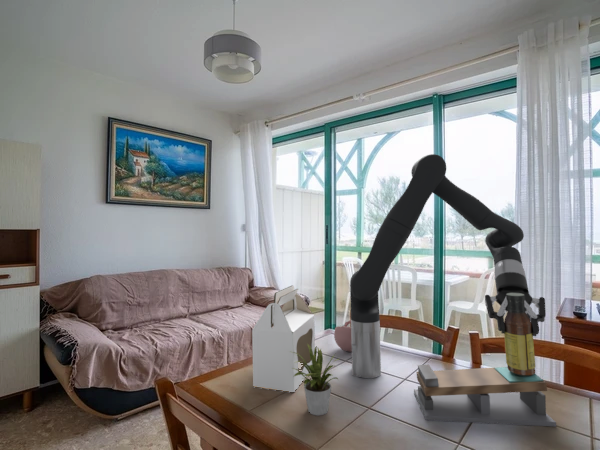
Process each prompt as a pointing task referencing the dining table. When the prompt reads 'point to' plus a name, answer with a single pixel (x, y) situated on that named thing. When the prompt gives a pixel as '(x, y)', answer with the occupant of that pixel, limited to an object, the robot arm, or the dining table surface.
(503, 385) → the seesaw plank
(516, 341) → the sauce bottle
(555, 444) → the dining table surface
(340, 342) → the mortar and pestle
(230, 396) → the dining table surface
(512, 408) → the seesaw stand
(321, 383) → the house plant
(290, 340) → the gable box
